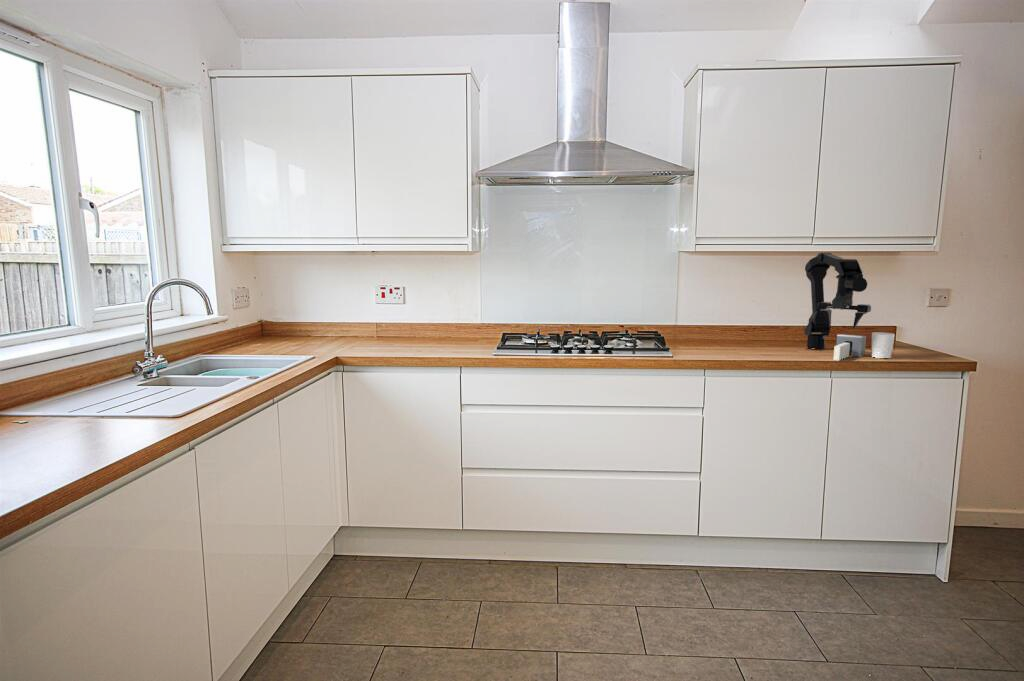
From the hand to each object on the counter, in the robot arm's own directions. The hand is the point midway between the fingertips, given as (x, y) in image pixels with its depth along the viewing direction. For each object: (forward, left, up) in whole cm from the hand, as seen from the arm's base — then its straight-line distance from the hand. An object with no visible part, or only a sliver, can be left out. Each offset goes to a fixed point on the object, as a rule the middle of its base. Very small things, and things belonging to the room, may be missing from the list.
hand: (841, 327), depth 240 cm
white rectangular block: (+3, -8, -11) cm, 14 cm away
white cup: (+14, +7, -12) cm, 19 cm away
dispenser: (+3, +6, -12) cm, 13 cm away
